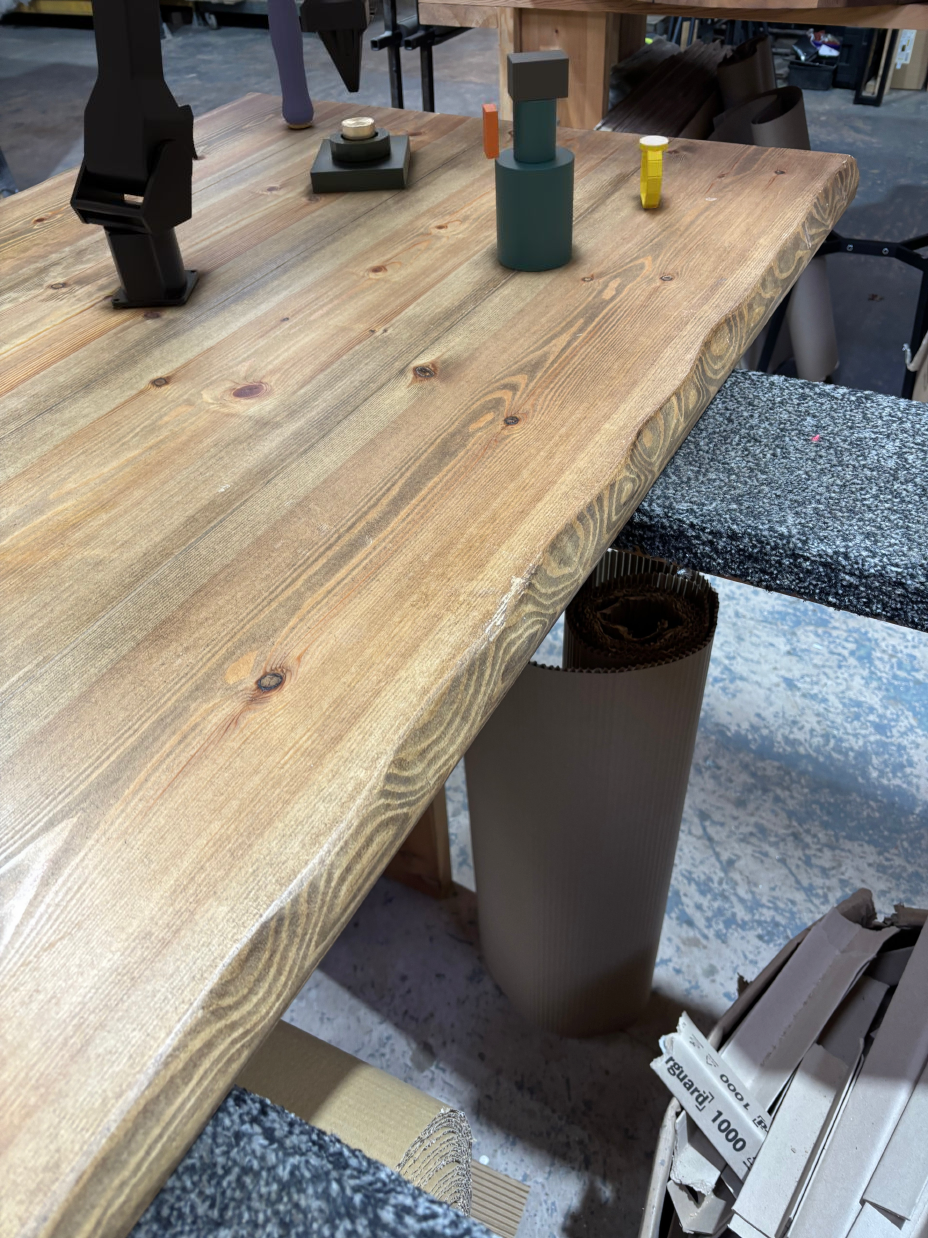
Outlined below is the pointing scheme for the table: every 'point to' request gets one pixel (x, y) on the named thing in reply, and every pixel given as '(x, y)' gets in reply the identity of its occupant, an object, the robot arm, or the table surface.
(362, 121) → the button
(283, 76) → the purple vase
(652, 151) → the watch
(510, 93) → the spray bottle
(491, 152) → the block
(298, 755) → the table surface
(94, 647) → the table surface
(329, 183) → the switch block
